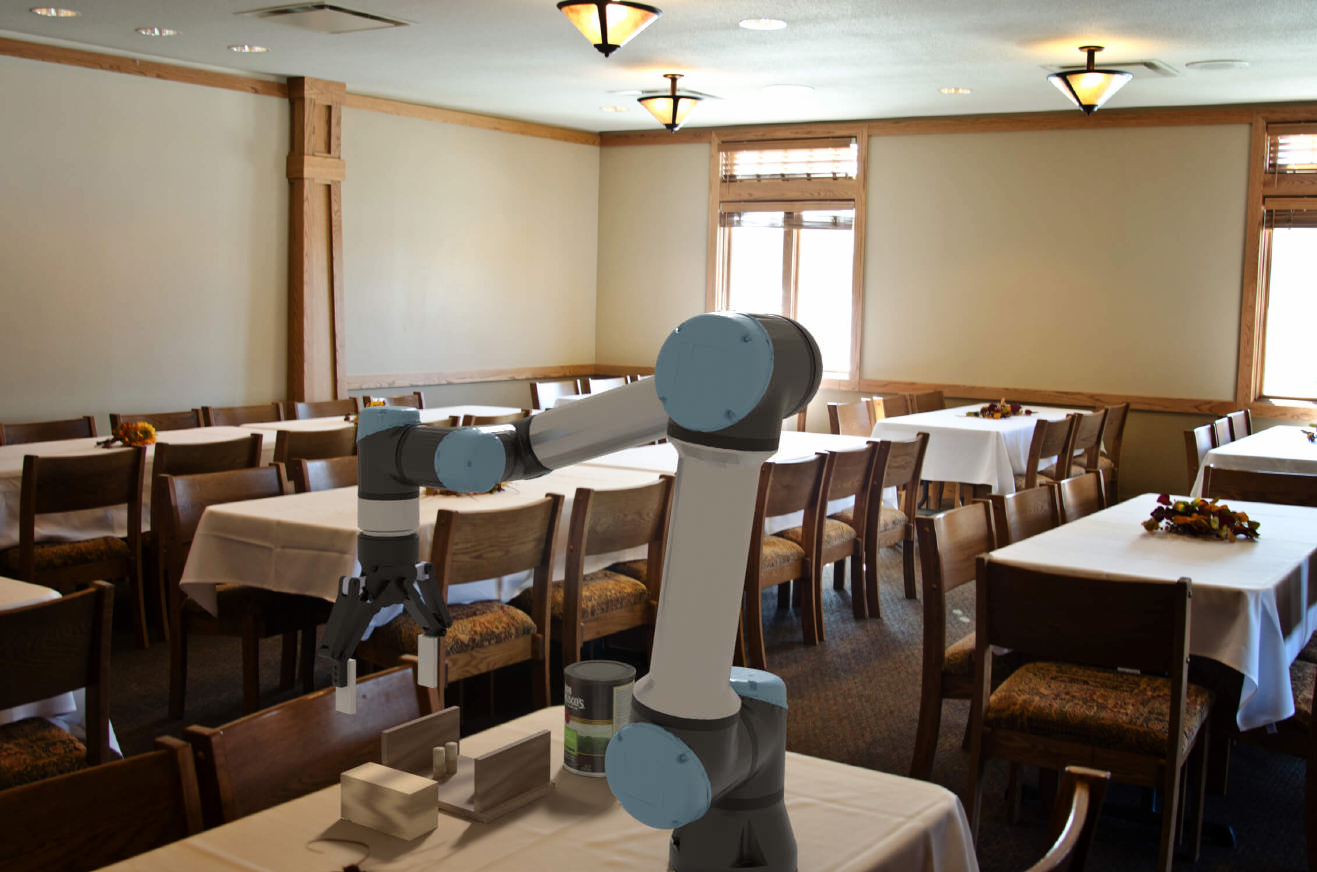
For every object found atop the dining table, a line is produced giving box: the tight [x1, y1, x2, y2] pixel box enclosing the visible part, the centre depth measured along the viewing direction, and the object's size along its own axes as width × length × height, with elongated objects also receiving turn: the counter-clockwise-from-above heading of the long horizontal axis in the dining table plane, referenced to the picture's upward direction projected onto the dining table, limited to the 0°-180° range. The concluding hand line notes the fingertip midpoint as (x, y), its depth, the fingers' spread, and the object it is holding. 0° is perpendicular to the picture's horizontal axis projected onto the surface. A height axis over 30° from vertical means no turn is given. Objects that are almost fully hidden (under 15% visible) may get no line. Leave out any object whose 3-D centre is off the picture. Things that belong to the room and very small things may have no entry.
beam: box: [340, 761, 439, 842], centre depth 149 cm, size 12×5×6 cm, turn 58°
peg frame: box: [381, 705, 557, 824], centre depth 160 cm, size 20×14×8 cm
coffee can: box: [562, 659, 637, 778], centre depth 170 cm, size 10×10×14 cm
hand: (388, 698), depth 148 cm, fingers open, 13 cm apart
